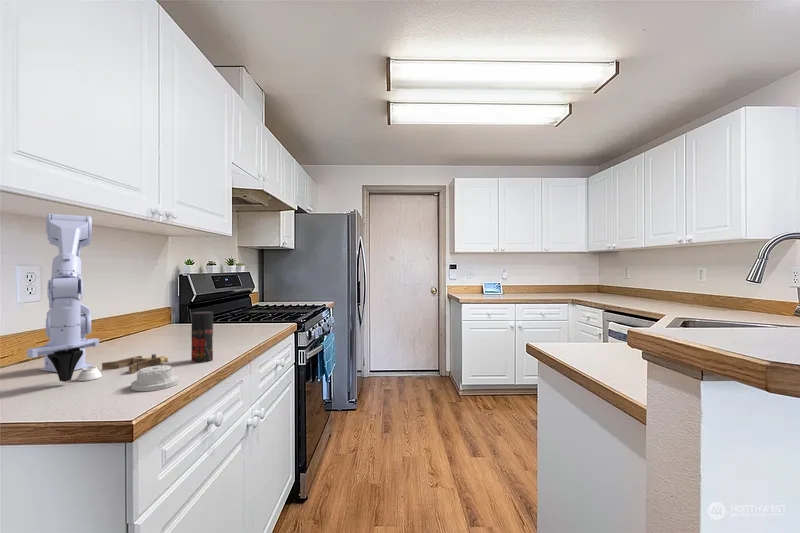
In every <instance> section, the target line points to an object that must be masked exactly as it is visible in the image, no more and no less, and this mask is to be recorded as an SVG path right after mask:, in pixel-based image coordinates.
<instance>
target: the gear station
mask: <svg viewBox="0 0 800 533" xmlns="http://www.w3.org/2000/svg"><path fill="white" fill-rule="evenodd" d="M166 362H169V357H168V356H166V355H157V354H156V353H152V354H151V356H148V357H143V356H142V355H137V356H132V357H128V358H123V359H119V360H115V361H106V362H101V371H109V370H117V369H121V368H125V367H128V374H129V375H132V374H134V373H137V371H140V369H142V368H146V367H151V366H160V365H162V364H164V363H166Z"/></svg>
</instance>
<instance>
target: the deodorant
mask: <svg viewBox="0 0 800 533" xmlns="http://www.w3.org/2000/svg"><path fill="white" fill-rule="evenodd" d="M213 360H214V311H194V312H191V362H192V363H195V364H202V363H208V362H211V361H213Z"/></svg>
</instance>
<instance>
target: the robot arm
mask: <svg viewBox="0 0 800 533" xmlns="http://www.w3.org/2000/svg"><path fill="white" fill-rule="evenodd" d="M92 225H93V218H92V216H90V215H76V214H63V213H62V214H61V213H60V214H59V213H52V212H48V214H46V216H45V230H46V231H45V232H46V234H47V240H48V241H49V244H50V245H52V246H56V247H57V249H58V253H59V254H58V255H56V256H54V258H52V264H51V265H52V266H51V277H50V279H48V280H47V286H46V287H47V292H46V294H47V298H48V308H49V309H48V311H47V312H46V320H45V336H46V337H47V338H48V339H49V340H48V341H47V342H46V344H45V345H42V346H41V345H40V346H36V347H32V348H26V357H27V358H29V359H33V358H38V357H41V356H44V367H42V368H40V371H45V372H46V371H47V372H55V373H57V377H58V380H59V382H63V383H64V382H66V383H67V382H71V381H72V378H73V375H74V371H77V370H82V369H83V368H86V367H94V364H91V363H86V359H87V356H86V352H87V350H86V348H91V347H98V346H100V338H95V337H94V338H93V337H92V338H86V337H87V335H88V336H89V335H91V333H92V312H91V311H92V310H91V308H90V307H89V306H87V305H86V304H83V303H82V301H81V300H83V296H84V281H83V277H82V259H81V257H80V255H81V252H82V251H83V248H84V247H88V246H90V245H91V242H92V231H93V229H92Z"/></svg>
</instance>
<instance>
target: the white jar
mask: <svg viewBox="0 0 800 533" xmlns="http://www.w3.org/2000/svg"><path fill="white" fill-rule="evenodd" d="M101 377H102V373H101V371H100V370H99V369H98V367H97V366H91V367H86V368H82V369H81V371H80V372H79V374H78V376H77V377H76V380H77V381H79V382H88V381H89V380H90V381H95V380H98V379H101Z"/></svg>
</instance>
